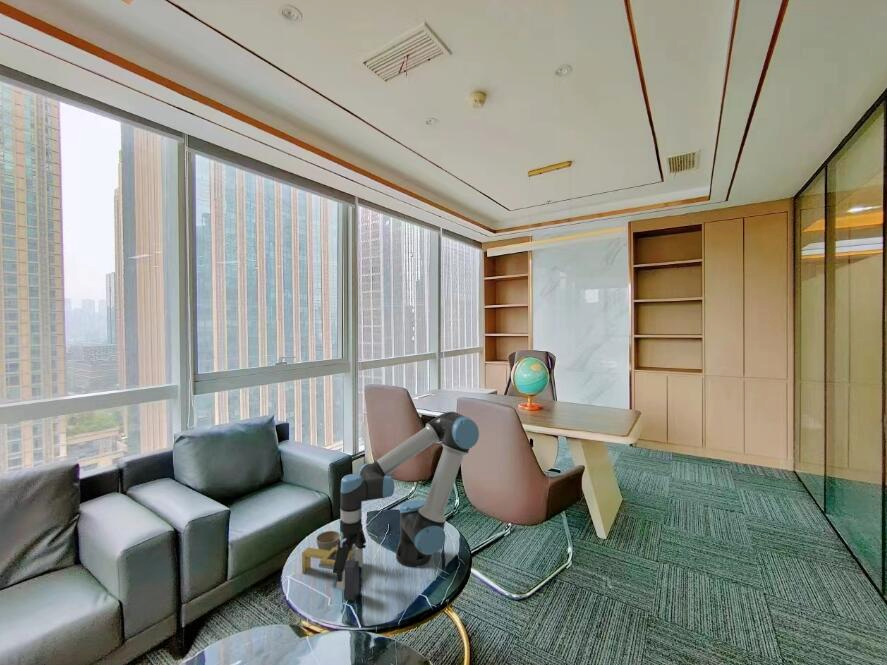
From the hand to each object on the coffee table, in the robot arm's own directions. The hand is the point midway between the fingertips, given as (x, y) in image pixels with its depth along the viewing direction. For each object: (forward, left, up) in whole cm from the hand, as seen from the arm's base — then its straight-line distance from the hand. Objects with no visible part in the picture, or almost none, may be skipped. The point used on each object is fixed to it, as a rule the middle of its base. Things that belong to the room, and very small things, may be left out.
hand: (350, 576), depth 139 cm
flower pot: (+23, -22, -8) cm, 33 cm away
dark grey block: (0, 0, -7) cm, 7 cm away
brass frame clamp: (+15, -12, -7) cm, 21 cm away
